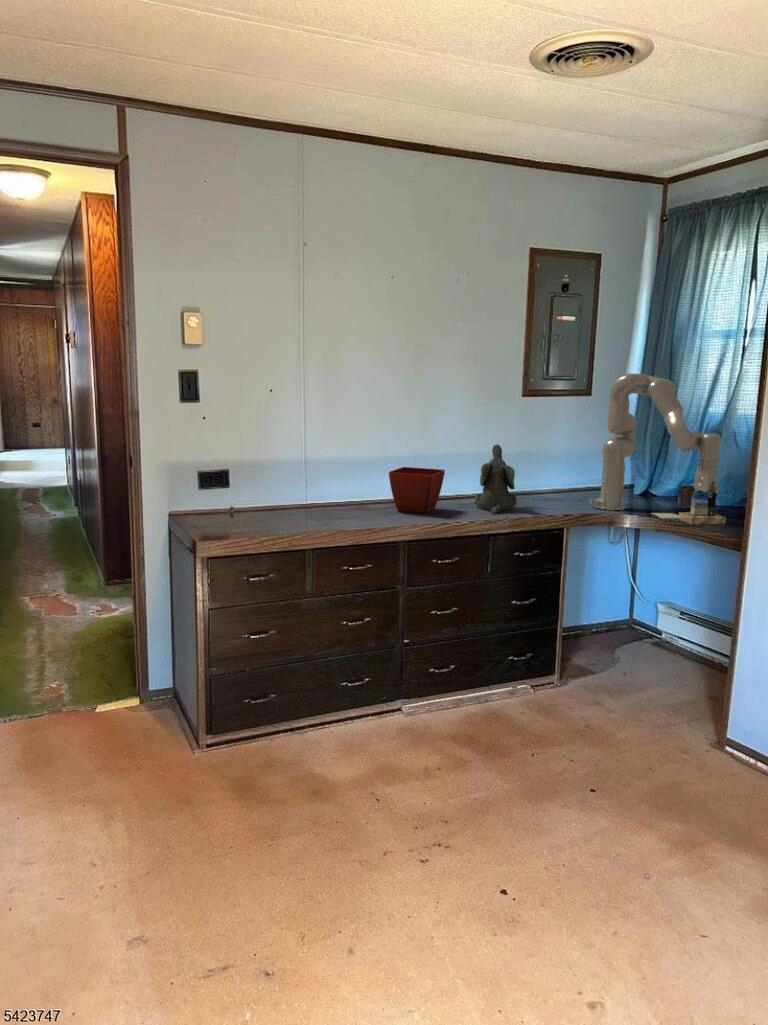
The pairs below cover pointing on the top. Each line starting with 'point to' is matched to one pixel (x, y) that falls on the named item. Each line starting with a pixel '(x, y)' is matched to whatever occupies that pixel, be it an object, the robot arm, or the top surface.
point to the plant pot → (416, 488)
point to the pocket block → (701, 519)
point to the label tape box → (701, 505)
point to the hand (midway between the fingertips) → (704, 505)
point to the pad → (666, 515)
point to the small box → (685, 496)
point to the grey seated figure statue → (496, 484)
